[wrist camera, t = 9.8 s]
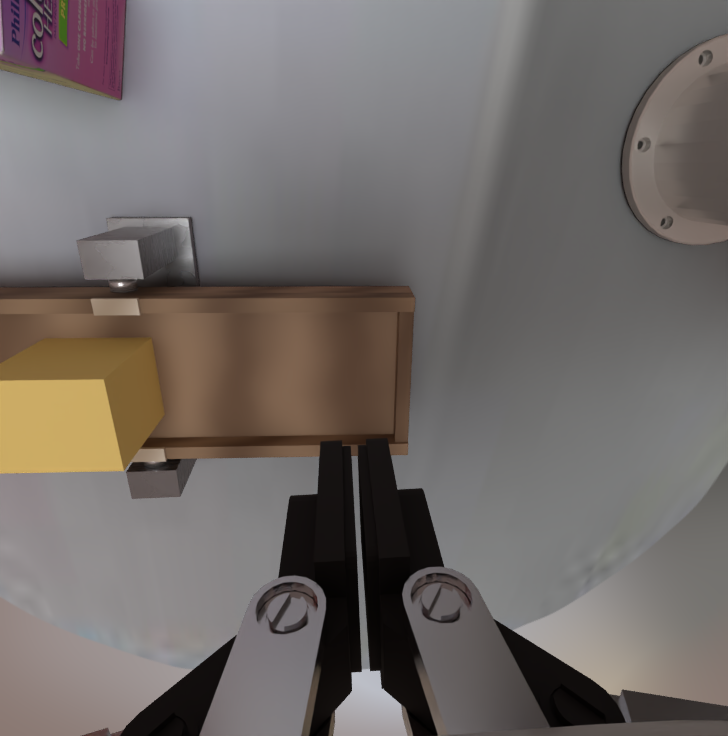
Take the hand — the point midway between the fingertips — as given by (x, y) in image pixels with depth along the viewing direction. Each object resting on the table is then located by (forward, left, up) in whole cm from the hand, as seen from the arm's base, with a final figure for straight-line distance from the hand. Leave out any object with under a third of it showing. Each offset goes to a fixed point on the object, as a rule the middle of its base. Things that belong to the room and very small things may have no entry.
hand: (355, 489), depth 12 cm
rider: (+14, +4, -17) cm, 22 cm away
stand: (+12, +4, -24) cm, 26 cm away
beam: (+12, +4, -19) cm, 23 cm away
